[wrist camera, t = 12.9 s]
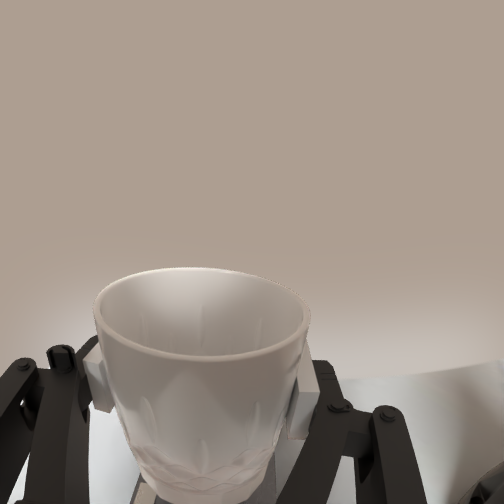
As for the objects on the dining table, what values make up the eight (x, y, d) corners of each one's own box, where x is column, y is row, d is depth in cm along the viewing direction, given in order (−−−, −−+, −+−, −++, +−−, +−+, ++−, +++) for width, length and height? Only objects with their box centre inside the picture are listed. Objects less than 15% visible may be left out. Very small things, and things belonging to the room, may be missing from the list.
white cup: (191, 400, 19) (191, 257, 16) (298, 451, 15) (337, 295, 12) (101, 462, 12) (56, 294, 10) (221, 548, 8) (229, 402, 6)
